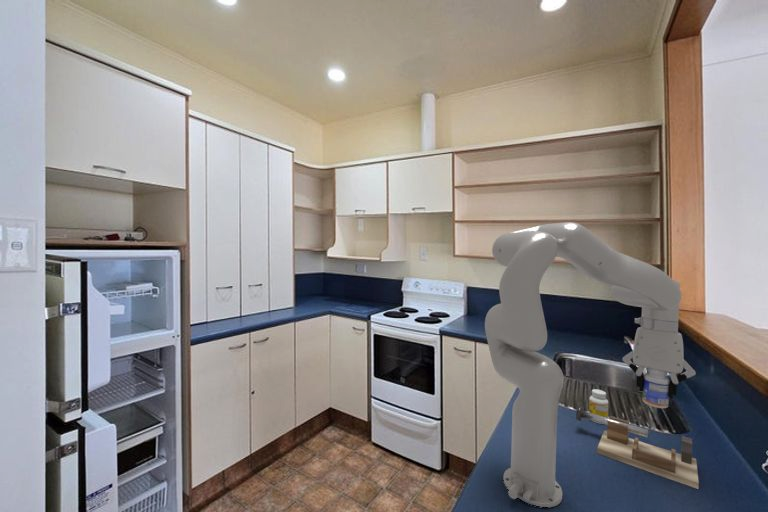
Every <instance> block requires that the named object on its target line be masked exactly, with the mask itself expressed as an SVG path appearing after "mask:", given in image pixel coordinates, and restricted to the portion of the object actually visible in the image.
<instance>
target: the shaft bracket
mask: <svg viewBox="0 0 768 512" xmlns="http://www.w3.org/2000/svg"><path fill="white" fill-rule="evenodd" d="M608 418H609V419H613V420H616V421H620V422H623V423H626V424H630V421H629V420H625V419H622V418H618V417H617V416H613V415H609V416H608ZM606 426H607V430H604V431H603V433H602V436H601V438H600V440H599V443H598V445H597V448H596V450H597V451H596V453H597V455H600V456H601V455H602V456H604V457H606V458H610V459H612V460H615V461H618V462H620V463H624V464H626V465H629V466H633V467H635V468H637V469H640V470H643V471H646V472H649V473H651V474H654V475H657V476H660V477H663V478H664V479H665V478H666V479H669V480H671V481H674V482H677V483H680V484H682V485H685V486H688V487H691V488H694V489H697V490H699V484H700V482H699V474H698V465H697V464H698V463H697V459H696V458H695V457H694V458H693V439H692V438H690V437H687V436H684V435H682V436H681V445H680V446H681V450H680V451H681V452H680V453H678V452H677V451H676V449H674V448H671V450H668V449H665V448H661V447H660V446H655V445H652V444H649V443H646V442H643V441H640V440H639V437H634V439H633V438H630V437H629V433H630V432H628V426H626V425H623V424H619V423H616V422H612V421H609V420H608V425H606Z"/></svg>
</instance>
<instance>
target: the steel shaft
mask: <svg viewBox="0 0 768 512" xmlns="http://www.w3.org/2000/svg"><path fill="white" fill-rule="evenodd" d="M575 418H576V421H577V422H583V419H586V420H589V421H591V422H593V421H595V422H594V423H596V422H598V423H597V424H599V423H602V424H601V425H605V426H608V420H609V421H612V422H616V423H619V424H623V425H626V426H628V432H629V433H631V434H634V435H638V436H642V437H645V438H649V437H648V435H649V429H647V428H643V427H640V426H637V425H633V424H630V423H629V424H626V423H623V422H620V421H616V420H613V419H609V417H608V418H606V417H602V416H599V415H596V414H592V413H589V411H586V410H585V409H584V406H583V405H577V408H576V415H575Z"/></svg>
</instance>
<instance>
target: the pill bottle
mask: <svg viewBox="0 0 768 512" xmlns="http://www.w3.org/2000/svg"><path fill="white" fill-rule="evenodd" d="M643 375H644V379H643V391H642V402H643V403H644V404H646V405H647V406H651V407H654V408H658V409H666V408H668V407H669V401H670V400H669V399H670V398H669V384H670V381H671V379H669V378H668V376H667V375H668V372H664V371H659V370H654V369H650V368H646V373H643Z"/></svg>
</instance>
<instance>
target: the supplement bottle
mask: <svg viewBox="0 0 768 512" xmlns="http://www.w3.org/2000/svg"><path fill="white" fill-rule="evenodd" d="M588 402H589V403H588V412H589V413H592V414H596V415H599V416H602V417H606V418H609V400H608V399H607V392H605V391H603V390H601V389H598V388H597V389H595V388H594V389H592V390H591V395H590V396H589V398H588ZM592 422H594V423H596V424H598V425H599V424H600V425H603V424H602V423H598V422H595V421H592Z"/></svg>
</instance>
